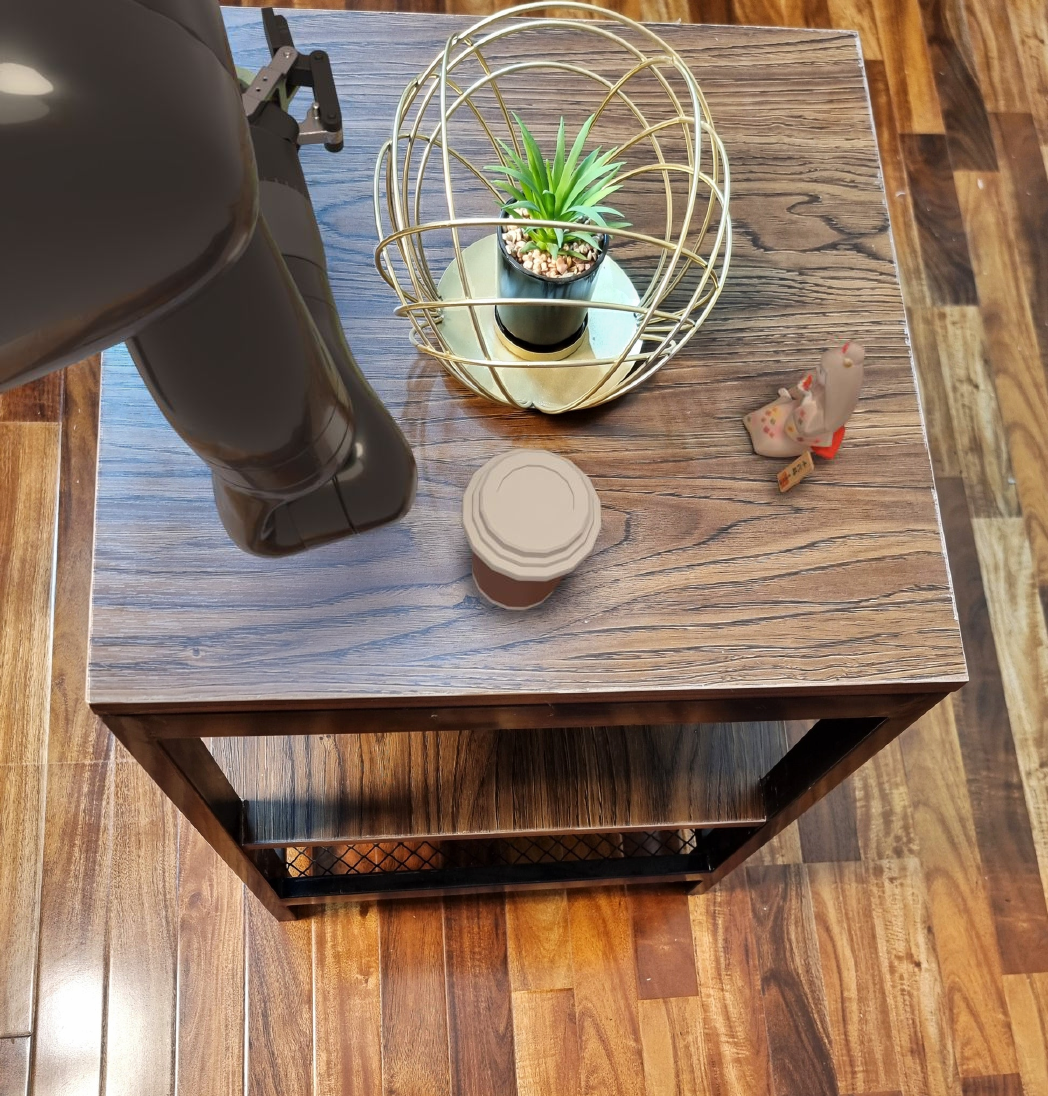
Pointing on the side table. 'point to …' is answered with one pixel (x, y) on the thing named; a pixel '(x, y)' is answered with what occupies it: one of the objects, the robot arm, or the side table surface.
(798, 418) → the figurine
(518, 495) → the coffee cup
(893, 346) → the side table surface
